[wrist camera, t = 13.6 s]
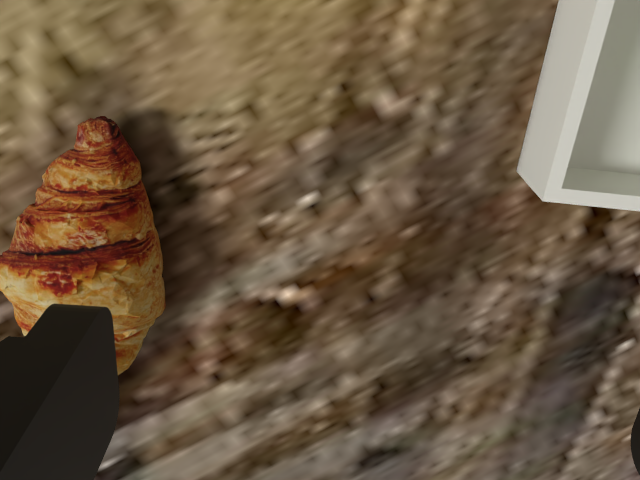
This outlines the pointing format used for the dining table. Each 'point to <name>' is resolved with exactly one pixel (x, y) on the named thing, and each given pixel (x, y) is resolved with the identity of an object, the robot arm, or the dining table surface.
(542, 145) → the bin
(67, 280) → the croissant
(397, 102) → the dining table surface
